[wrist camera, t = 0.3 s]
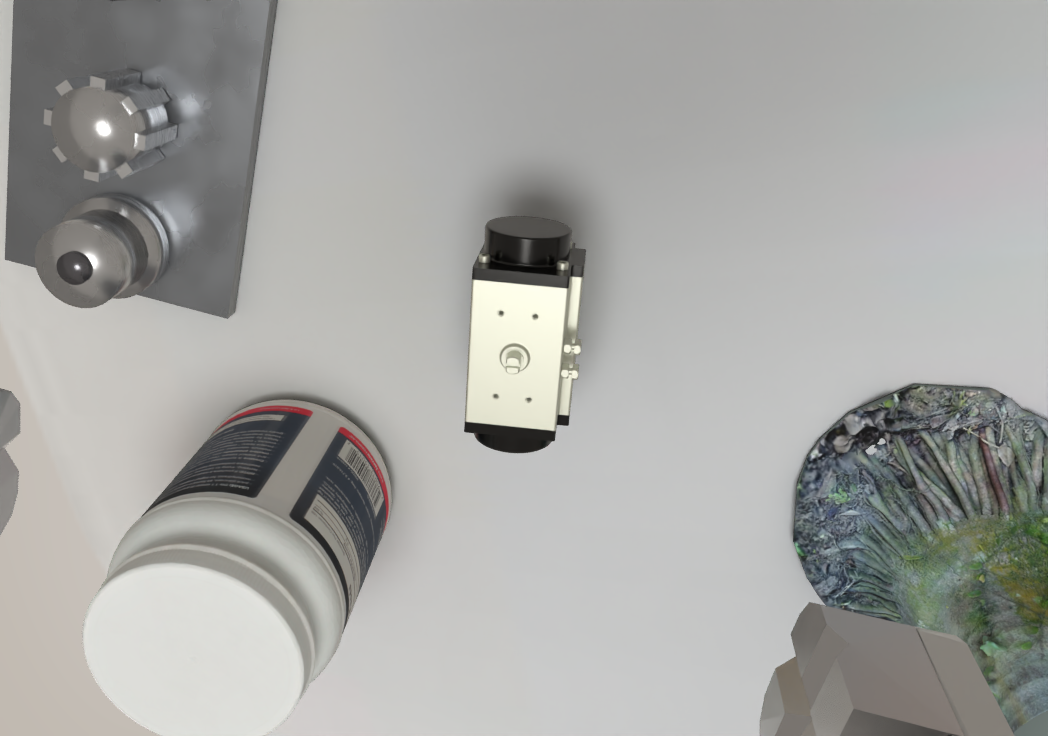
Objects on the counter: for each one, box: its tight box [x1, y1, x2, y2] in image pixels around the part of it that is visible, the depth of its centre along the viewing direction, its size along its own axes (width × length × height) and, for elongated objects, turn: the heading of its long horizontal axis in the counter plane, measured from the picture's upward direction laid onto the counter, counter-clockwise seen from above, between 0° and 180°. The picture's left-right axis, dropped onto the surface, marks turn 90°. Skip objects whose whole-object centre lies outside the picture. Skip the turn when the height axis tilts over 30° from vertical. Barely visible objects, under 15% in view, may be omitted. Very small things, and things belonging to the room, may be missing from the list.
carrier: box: [5, 0, 277, 319], centre depth 53 cm, size 21×14×7 cm, turn 166°
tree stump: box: [793, 384, 1048, 736], centre depth 56 cm, size 18×20×18 cm
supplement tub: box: [82, 400, 392, 736], centre depth 56 cm, size 13×13×18 cm
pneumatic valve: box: [464, 216, 586, 453], centre depth 52 cm, size 6×12×12 cm, turn 176°
